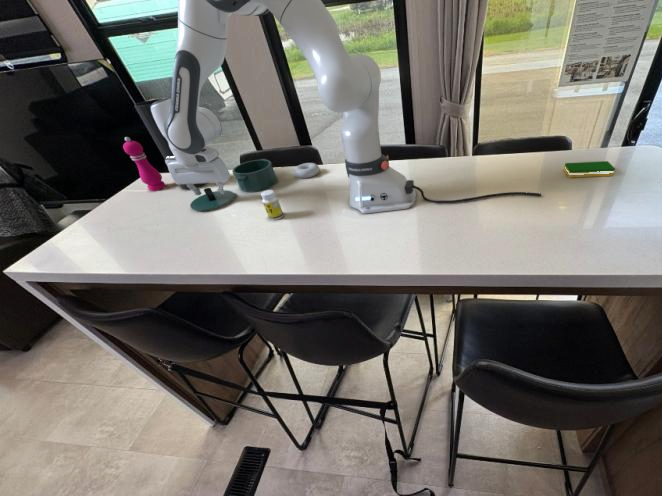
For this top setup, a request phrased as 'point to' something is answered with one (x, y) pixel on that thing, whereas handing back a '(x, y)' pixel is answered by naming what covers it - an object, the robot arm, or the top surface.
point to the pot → (255, 175)
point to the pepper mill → (144, 165)
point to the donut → (306, 170)
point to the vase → (157, 132)
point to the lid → (211, 200)
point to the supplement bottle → (271, 205)
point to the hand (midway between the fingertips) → (210, 194)
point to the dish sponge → (588, 168)
